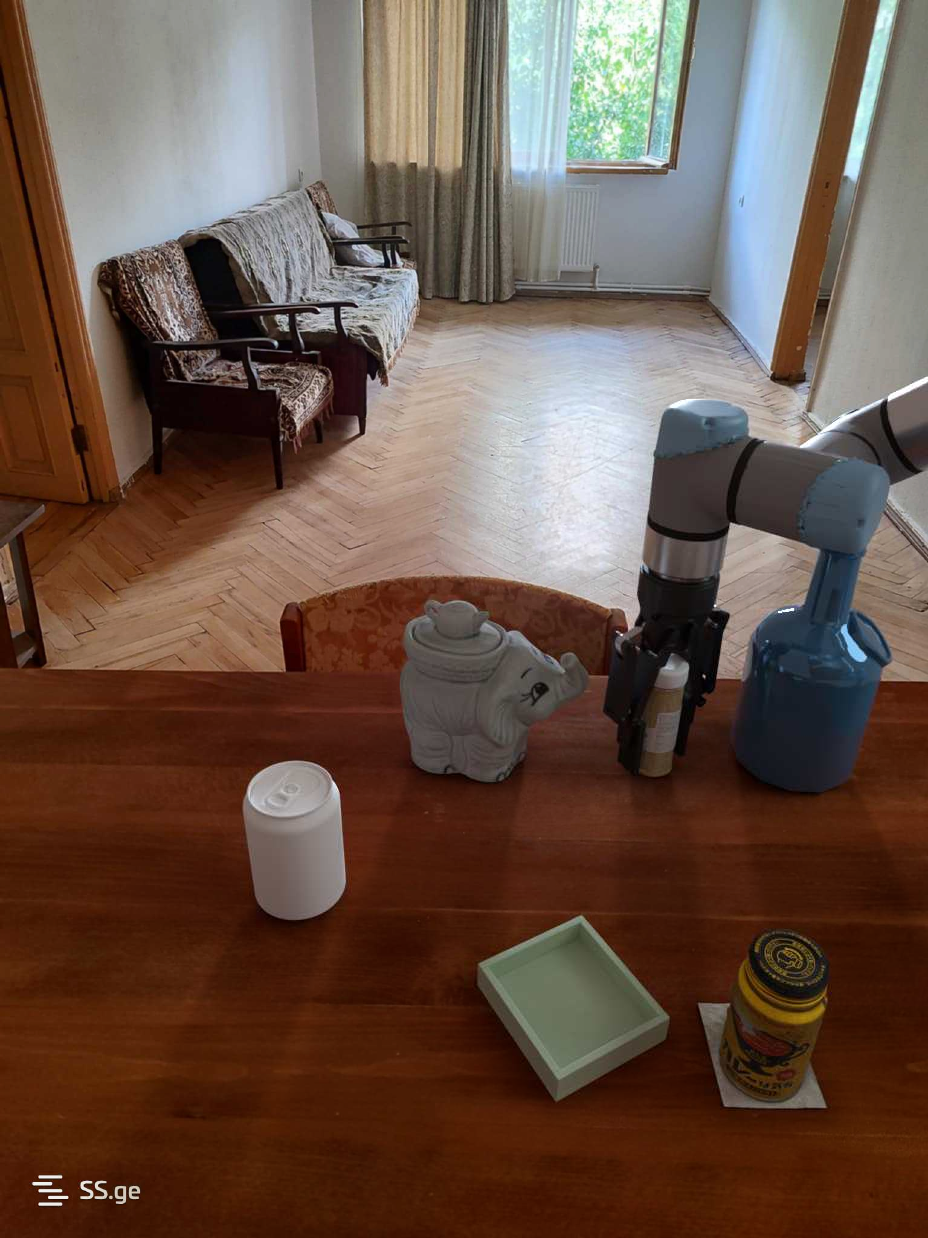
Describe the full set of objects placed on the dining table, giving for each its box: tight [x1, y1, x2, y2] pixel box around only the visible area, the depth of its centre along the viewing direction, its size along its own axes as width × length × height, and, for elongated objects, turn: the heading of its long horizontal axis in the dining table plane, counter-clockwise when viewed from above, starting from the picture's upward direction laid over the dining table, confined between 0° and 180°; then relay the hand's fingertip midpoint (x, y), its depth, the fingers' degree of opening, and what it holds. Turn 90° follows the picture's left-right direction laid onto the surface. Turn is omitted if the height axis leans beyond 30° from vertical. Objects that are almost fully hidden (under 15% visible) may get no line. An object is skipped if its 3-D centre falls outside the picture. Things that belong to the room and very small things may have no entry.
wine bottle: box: [729, 545, 893, 793], centre depth 90 cm, size 14×13×30 cm
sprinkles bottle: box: [638, 653, 689, 778], centre depth 93 cm, size 5×5×14 cm
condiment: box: [697, 928, 831, 1109], centre depth 64 cm, size 7×8×12 cm
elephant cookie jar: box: [399, 599, 590, 783], centre depth 92 cm, size 16×15×19 cm
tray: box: [476, 914, 671, 1103], centre depth 69 cm, size 11×10×3 cm
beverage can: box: [242, 760, 347, 921], centre depth 77 cm, size 8×8×12 cm
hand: (651, 757), depth 95 cm, fingers open, 6 cm apart
